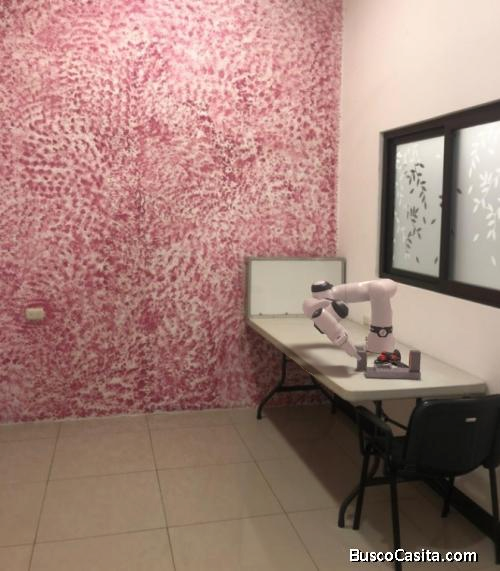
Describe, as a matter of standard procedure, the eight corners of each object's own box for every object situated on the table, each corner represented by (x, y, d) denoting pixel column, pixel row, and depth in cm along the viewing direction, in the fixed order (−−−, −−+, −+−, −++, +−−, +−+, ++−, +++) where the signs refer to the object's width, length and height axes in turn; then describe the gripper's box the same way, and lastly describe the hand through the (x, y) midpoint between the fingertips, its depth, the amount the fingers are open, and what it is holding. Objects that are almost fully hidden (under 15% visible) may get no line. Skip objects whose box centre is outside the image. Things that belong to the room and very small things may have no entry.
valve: (366, 363, 309) (392, 357, 313) (391, 379, 285) (419, 372, 288) (365, 351, 308) (391, 345, 311) (390, 366, 283) (418, 360, 287)
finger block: (356, 368, 290) (357, 350, 289) (365, 368, 290) (366, 350, 289) (357, 370, 286) (358, 352, 285) (366, 370, 286) (367, 352, 285)
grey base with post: (364, 373, 282) (365, 347, 280) (416, 374, 280) (418, 349, 279) (366, 377, 274) (367, 351, 273) (420, 379, 272) (421, 353, 271)
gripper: (333, 336, 297) (352, 356, 298) (336, 345, 277) (356, 366, 278) (342, 327, 296) (361, 347, 297) (346, 336, 276) (366, 357, 277)
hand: (359, 357), depth 287 cm, fingers open, 8 cm apart
